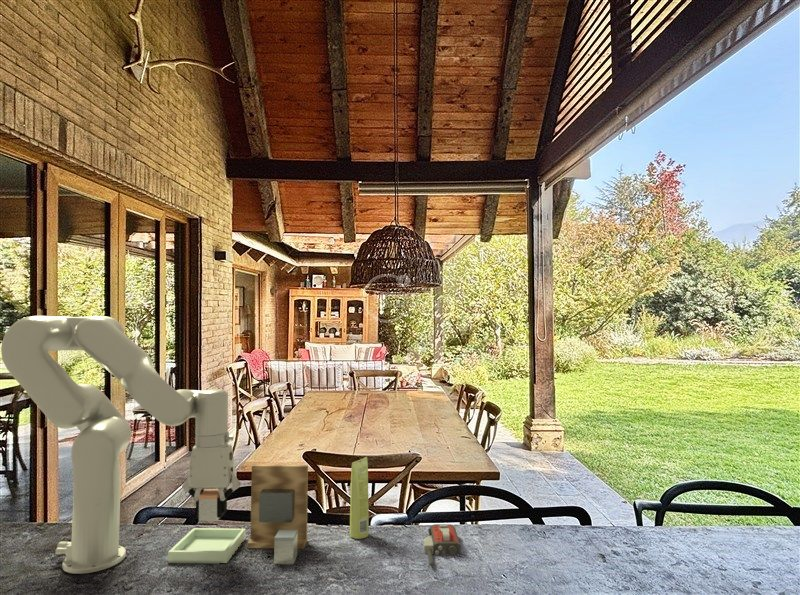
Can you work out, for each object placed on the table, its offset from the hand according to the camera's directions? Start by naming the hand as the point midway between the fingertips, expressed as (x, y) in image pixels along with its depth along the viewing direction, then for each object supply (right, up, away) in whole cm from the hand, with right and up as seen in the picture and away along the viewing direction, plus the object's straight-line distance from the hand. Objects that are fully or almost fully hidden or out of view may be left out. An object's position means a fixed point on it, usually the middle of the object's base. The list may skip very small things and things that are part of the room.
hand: (211, 515), depth 123 cm
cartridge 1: (0, -1, 0) cm, 1 cm away
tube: (+36, -9, +8) cm, 38 cm away
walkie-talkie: (+57, -9, 0) cm, 57 cm away
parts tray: (0, -8, -1) cm, 8 cm away
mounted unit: (+16, -9, +3) cm, 18 cm away
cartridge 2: (+19, -8, -5) cm, 22 cm away
